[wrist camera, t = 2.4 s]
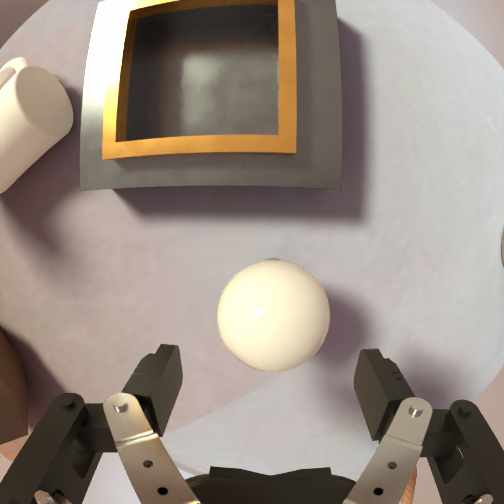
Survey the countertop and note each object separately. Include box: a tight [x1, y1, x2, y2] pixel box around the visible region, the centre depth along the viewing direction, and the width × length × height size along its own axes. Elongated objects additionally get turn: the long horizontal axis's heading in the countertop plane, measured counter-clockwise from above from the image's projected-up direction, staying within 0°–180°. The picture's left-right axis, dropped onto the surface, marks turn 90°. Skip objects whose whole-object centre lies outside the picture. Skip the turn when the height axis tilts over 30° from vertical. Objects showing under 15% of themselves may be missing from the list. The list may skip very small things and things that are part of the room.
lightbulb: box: [217, 258, 330, 372], centre depth 19 cm, size 6×6×11 cm
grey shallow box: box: [80, 0, 342, 191], centre depth 17 cm, size 18×20×6 cm
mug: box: [0, 57, 73, 193], centre depth 18 cm, size 12×10×8 cm
